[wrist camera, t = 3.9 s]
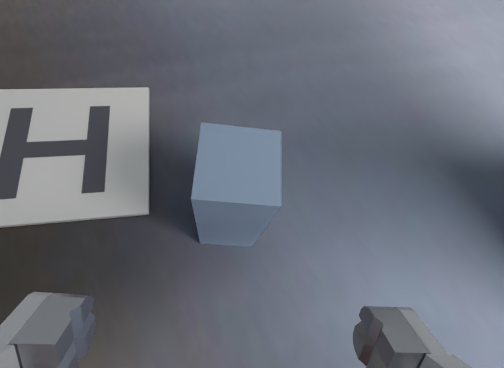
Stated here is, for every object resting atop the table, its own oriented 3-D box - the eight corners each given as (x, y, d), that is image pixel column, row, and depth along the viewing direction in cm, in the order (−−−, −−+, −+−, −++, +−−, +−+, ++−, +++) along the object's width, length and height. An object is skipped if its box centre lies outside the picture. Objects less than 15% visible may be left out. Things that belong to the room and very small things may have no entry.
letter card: (149, 90, 26) (148, 87, 26) (149, 214, 22) (148, 213, 21) (-25, 93, 24) (-29, 89, 23) (-65, 233, 19) (-71, 231, 19)
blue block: (254, 198, 23) (281, 130, 14) (252, 246, 22) (281, 206, 13) (205, 194, 23) (201, 122, 14) (200, 243, 21) (190, 199, 12)
